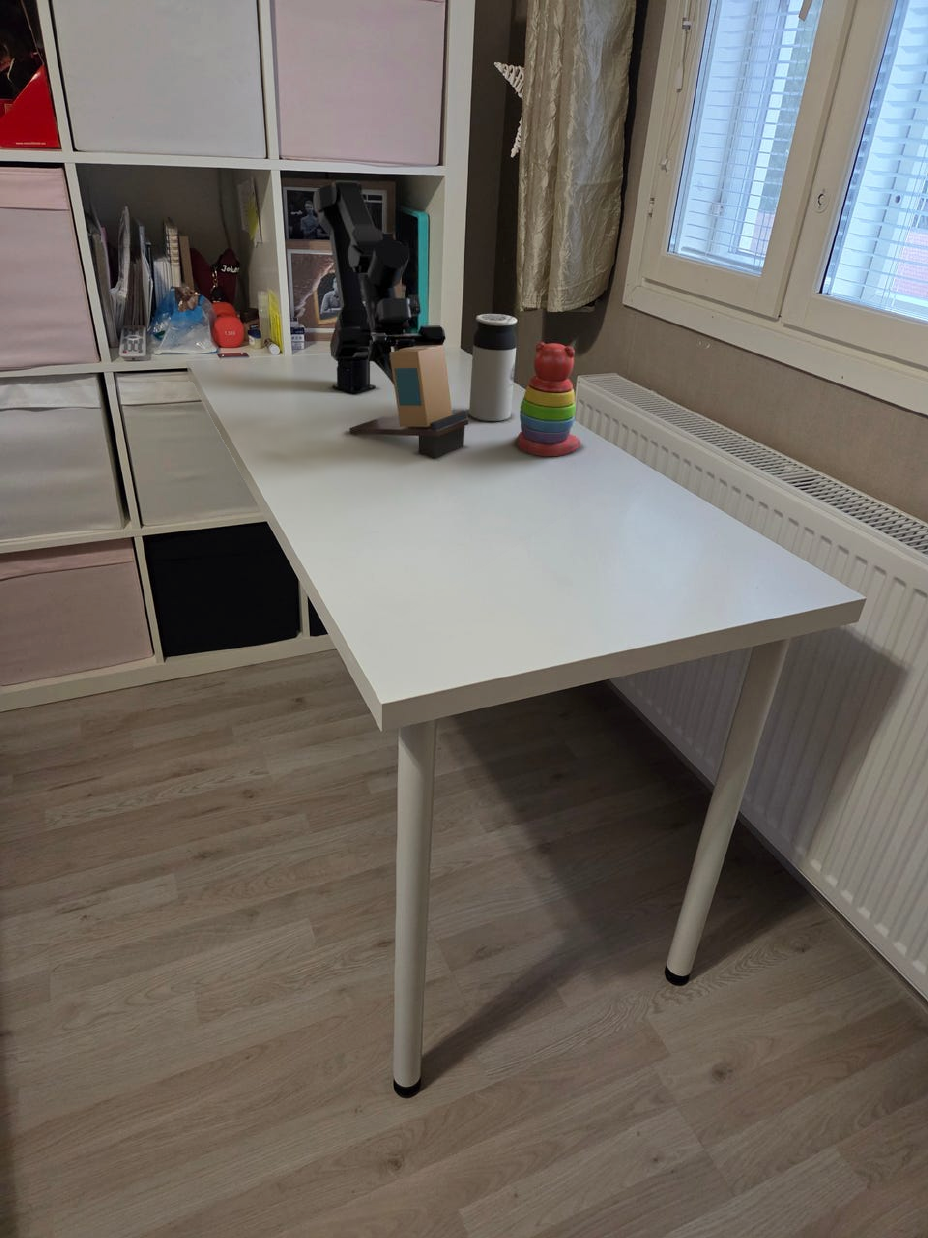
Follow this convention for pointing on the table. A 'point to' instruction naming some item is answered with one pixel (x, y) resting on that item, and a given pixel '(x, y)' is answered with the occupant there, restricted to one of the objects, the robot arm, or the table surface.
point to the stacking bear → (549, 404)
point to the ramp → (422, 433)
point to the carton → (421, 385)
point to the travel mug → (493, 367)
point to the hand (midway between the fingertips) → (398, 385)
